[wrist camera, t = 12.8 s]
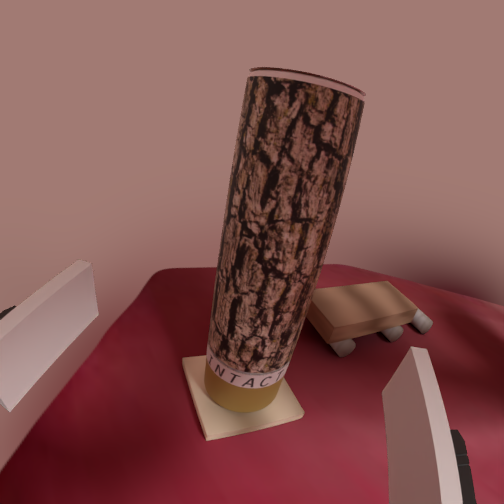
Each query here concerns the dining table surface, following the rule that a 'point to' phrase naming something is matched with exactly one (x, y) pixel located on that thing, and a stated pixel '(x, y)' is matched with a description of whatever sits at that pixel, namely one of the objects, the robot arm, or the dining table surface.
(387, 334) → the brown toy skateboard
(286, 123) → the bark-patterned canister
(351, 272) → the dining table surface
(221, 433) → the coaster
